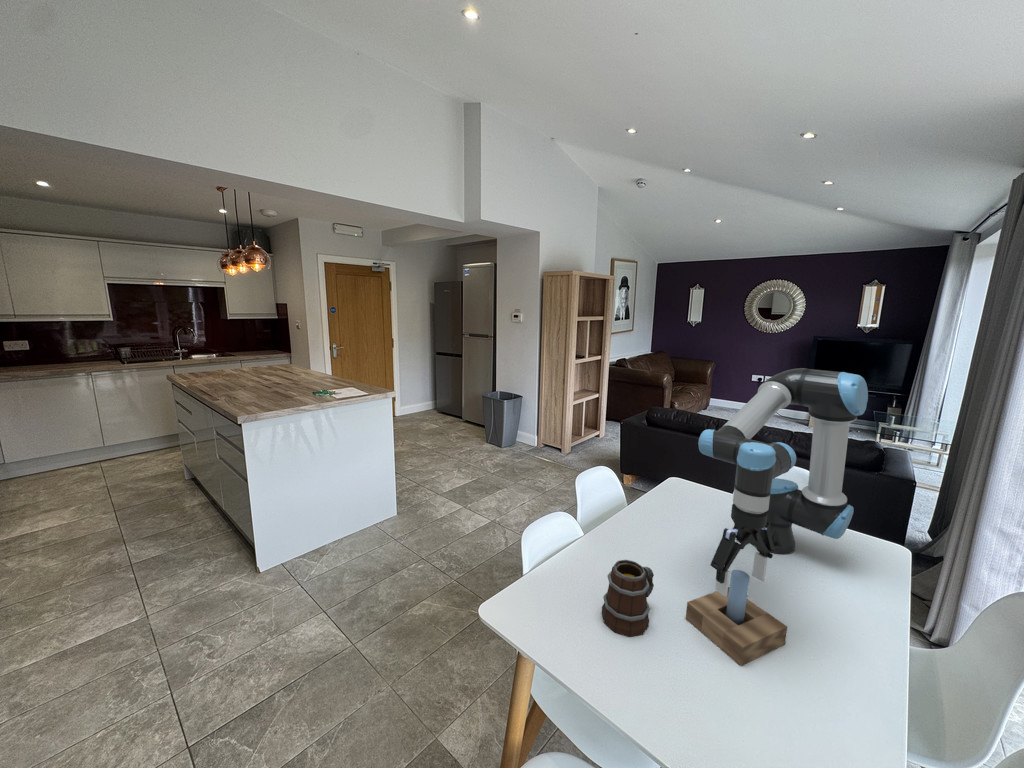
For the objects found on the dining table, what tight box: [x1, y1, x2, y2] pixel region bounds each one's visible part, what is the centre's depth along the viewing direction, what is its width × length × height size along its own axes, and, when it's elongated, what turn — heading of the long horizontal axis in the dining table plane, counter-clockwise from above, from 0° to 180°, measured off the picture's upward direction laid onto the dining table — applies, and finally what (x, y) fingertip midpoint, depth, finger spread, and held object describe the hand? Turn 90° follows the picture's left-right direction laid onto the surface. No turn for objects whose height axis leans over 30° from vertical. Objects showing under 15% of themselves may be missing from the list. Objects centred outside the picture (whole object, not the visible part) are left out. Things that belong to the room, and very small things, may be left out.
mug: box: [601, 559, 655, 638], centre depth 107 cm, size 16×12×15 cm
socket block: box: [685, 586, 788, 667], centre depth 104 cm, size 16×16×5 cm
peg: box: [726, 569, 751, 625], centre depth 103 cm, size 4×4×16 cm
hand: (740, 585), depth 102 cm, fingers open, 13 cm apart
